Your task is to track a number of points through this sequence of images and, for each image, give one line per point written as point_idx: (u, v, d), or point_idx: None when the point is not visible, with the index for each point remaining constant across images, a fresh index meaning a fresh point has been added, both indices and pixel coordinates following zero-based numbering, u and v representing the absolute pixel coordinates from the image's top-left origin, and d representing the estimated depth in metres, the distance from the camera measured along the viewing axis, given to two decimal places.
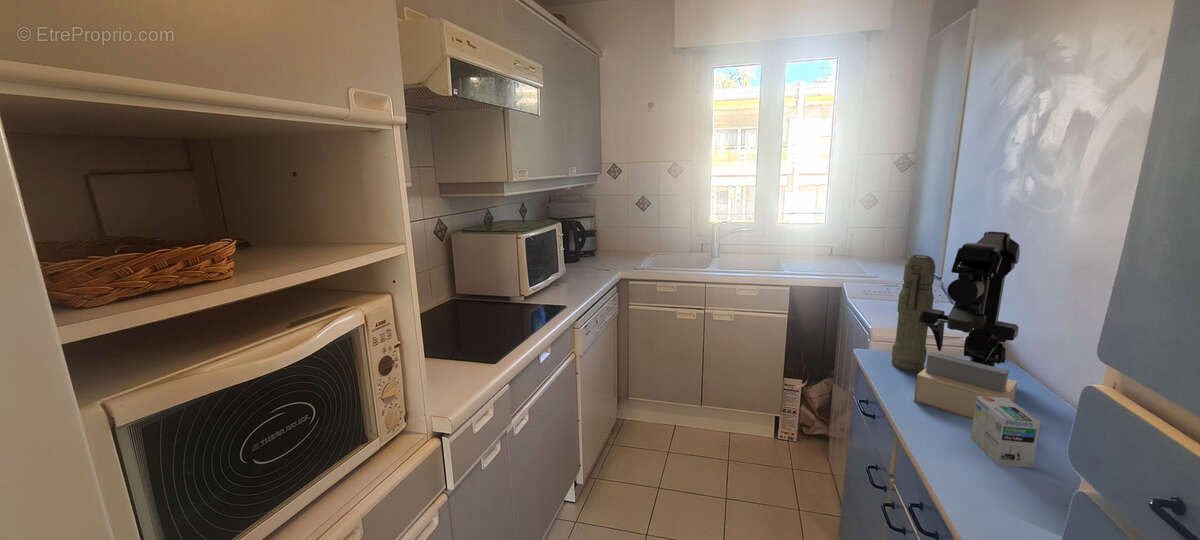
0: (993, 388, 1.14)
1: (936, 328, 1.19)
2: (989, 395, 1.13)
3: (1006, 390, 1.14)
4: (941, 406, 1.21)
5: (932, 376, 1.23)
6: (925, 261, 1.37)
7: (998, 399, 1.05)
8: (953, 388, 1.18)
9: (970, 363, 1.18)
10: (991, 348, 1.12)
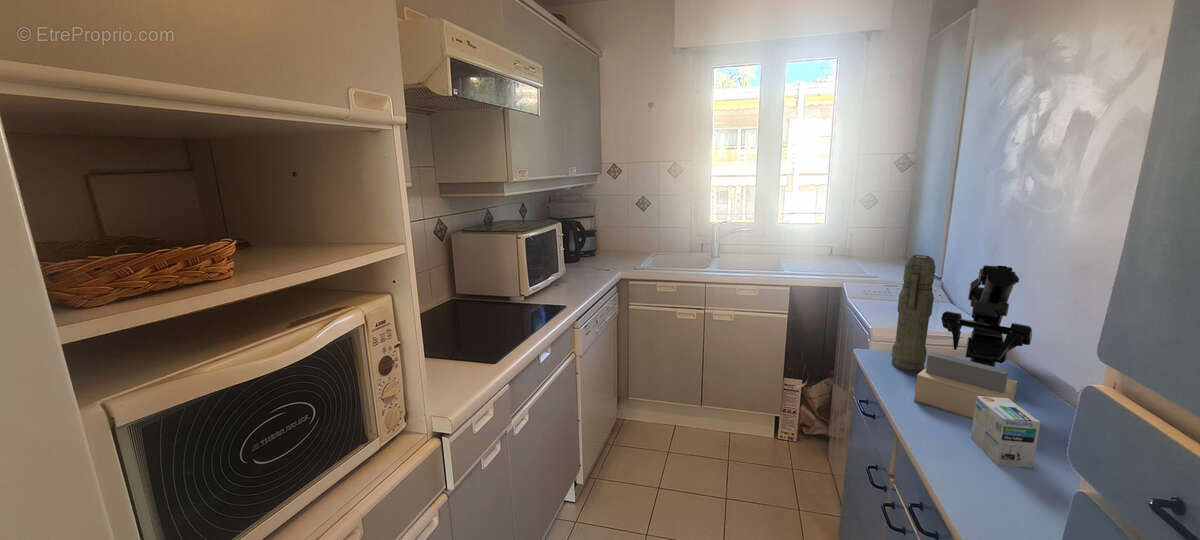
0: (993, 388, 1.14)
1: (957, 324, 1.28)
2: (989, 395, 1.13)
3: (1006, 390, 1.14)
4: (941, 406, 1.21)
5: (932, 376, 1.23)
6: (925, 261, 1.37)
7: (998, 399, 1.05)
8: (953, 388, 1.18)
9: (970, 363, 1.18)
10: (1007, 344, 1.20)
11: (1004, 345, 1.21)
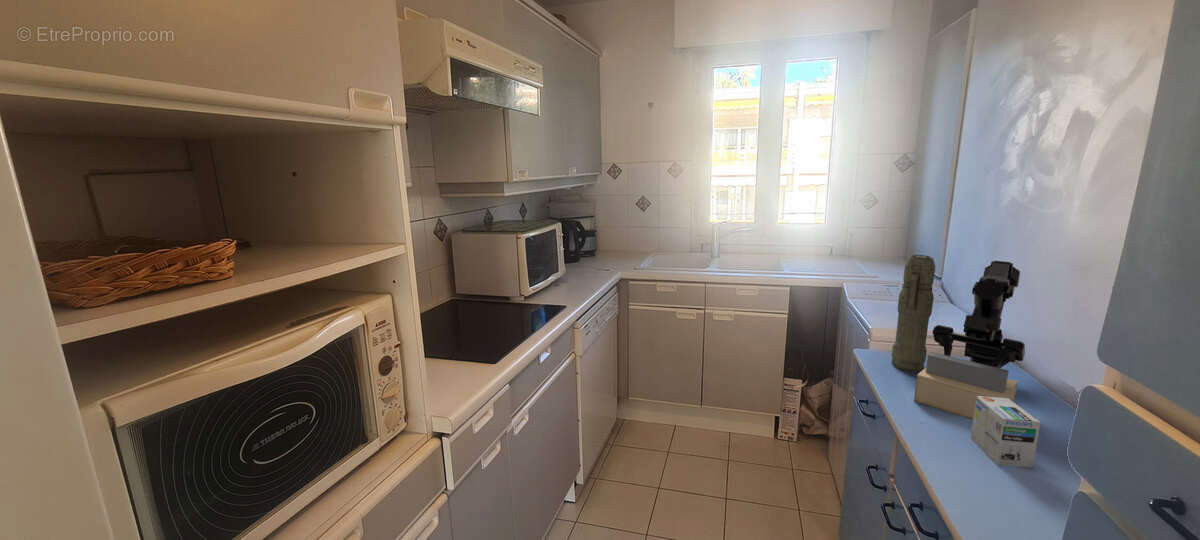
0: (993, 388, 1.14)
1: (948, 338, 1.25)
2: (989, 395, 1.13)
3: (1006, 390, 1.14)
4: (941, 406, 1.21)
5: (932, 376, 1.23)
6: (925, 261, 1.37)
7: (998, 399, 1.05)
8: (953, 388, 1.18)
9: (970, 363, 1.18)
10: (999, 360, 1.17)
11: (996, 361, 1.17)
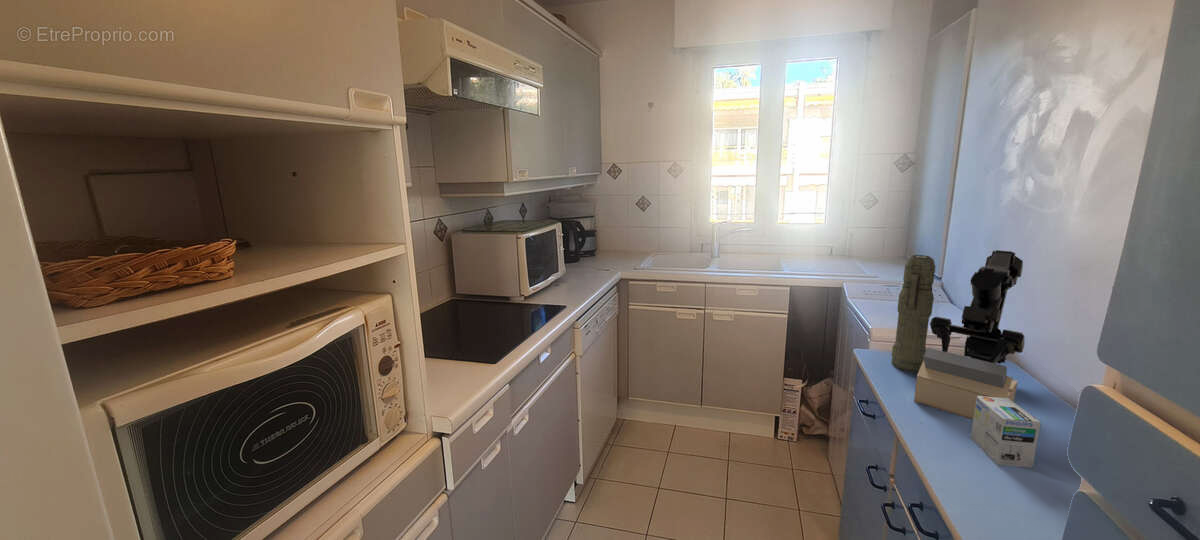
0: (993, 384, 1.13)
1: (946, 330, 1.22)
2: (989, 395, 1.13)
3: (1007, 380, 1.13)
4: (941, 406, 1.21)
5: (932, 374, 1.22)
6: (925, 261, 1.37)
7: (998, 399, 1.05)
8: (953, 388, 1.18)
9: (966, 362, 1.15)
10: (998, 352, 1.14)
11: (995, 353, 1.14)
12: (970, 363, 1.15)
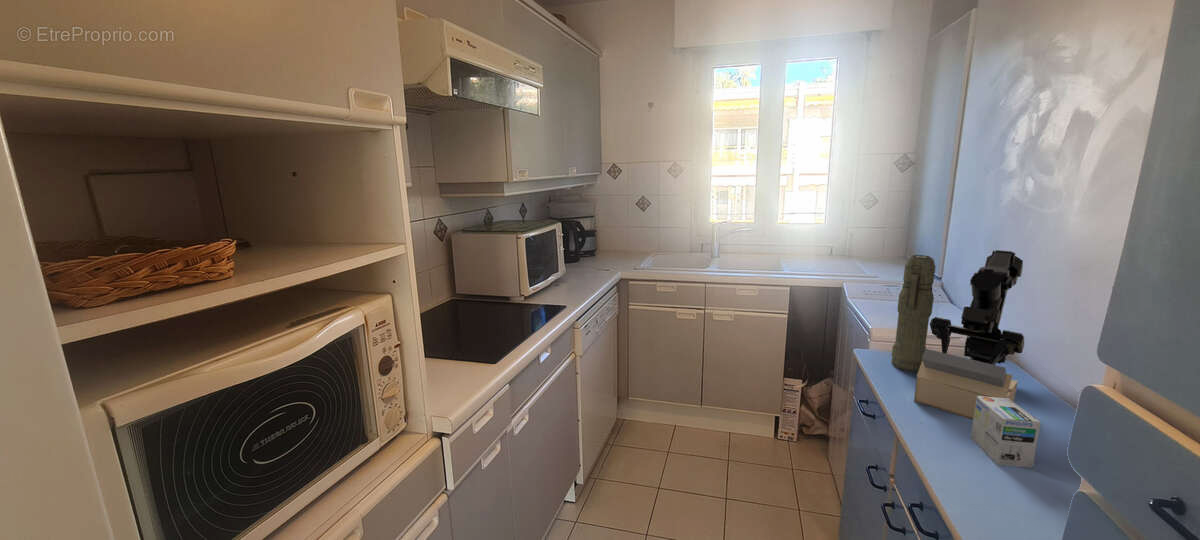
0: (992, 383, 1.13)
1: (946, 330, 1.22)
2: (989, 396, 1.13)
3: (1007, 378, 1.12)
4: (941, 406, 1.21)
5: (931, 374, 1.22)
6: (925, 261, 1.37)
7: (998, 399, 1.05)
8: (953, 388, 1.18)
9: (965, 364, 1.15)
10: (998, 353, 1.14)
11: (995, 353, 1.14)
12: (968, 365, 1.14)
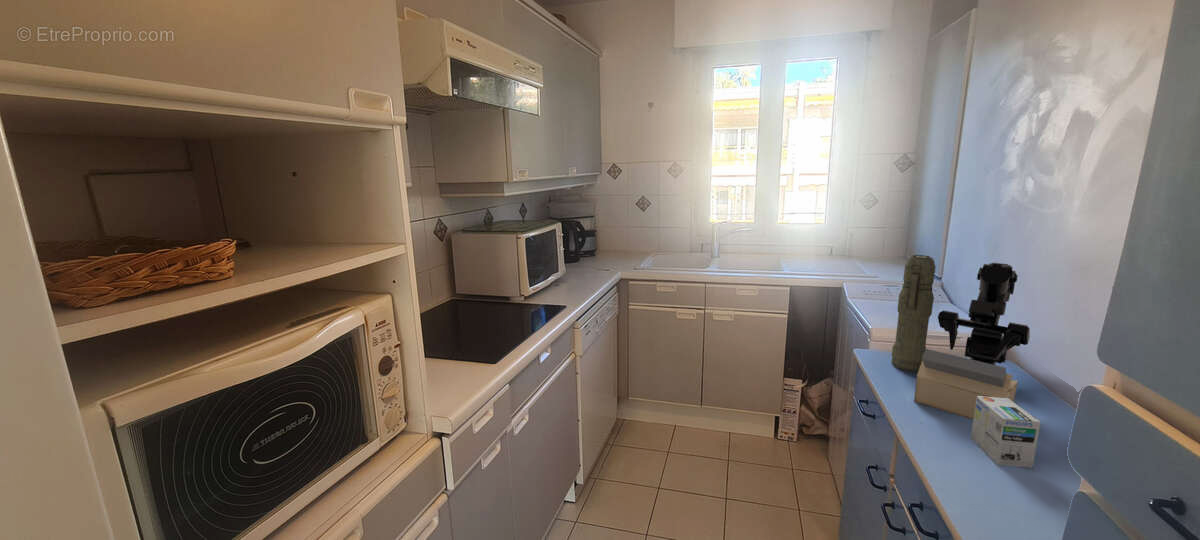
0: (992, 383, 1.13)
1: (953, 323, 1.26)
2: (989, 396, 1.13)
3: (1007, 378, 1.12)
4: (941, 406, 1.21)
5: (931, 374, 1.22)
6: (925, 261, 1.37)
7: (998, 399, 1.05)
8: (953, 388, 1.18)
9: (965, 364, 1.15)
10: (1004, 344, 1.18)
11: (1001, 345, 1.18)
12: (968, 365, 1.14)
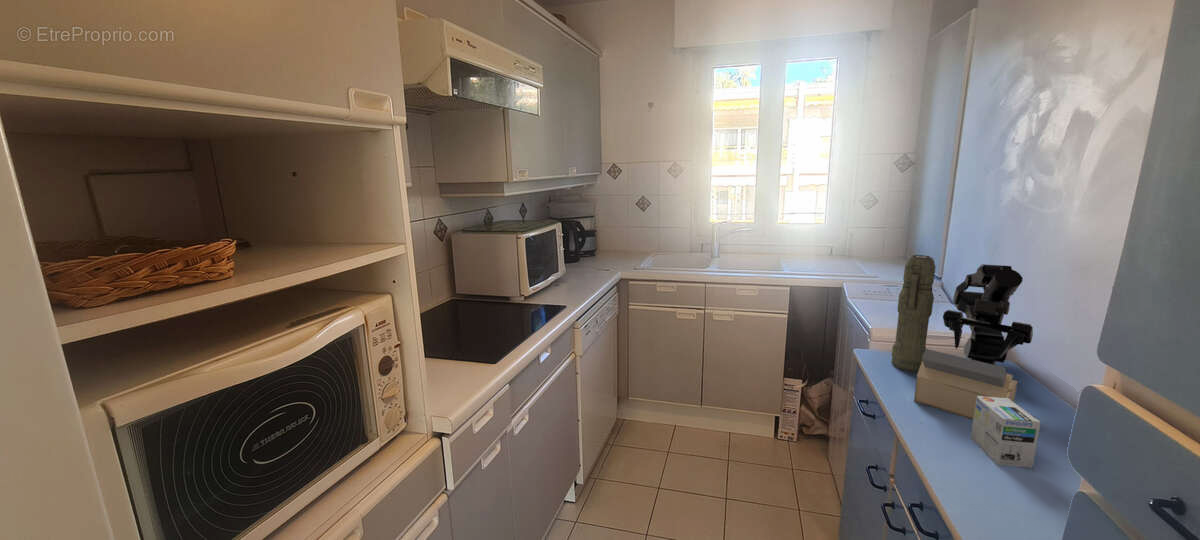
0: (992, 383, 1.13)
1: (958, 322, 1.30)
2: (989, 396, 1.13)
3: (1007, 378, 1.12)
4: (941, 406, 1.21)
5: (931, 374, 1.22)
6: (925, 261, 1.37)
7: (998, 399, 1.05)
8: (953, 388, 1.18)
9: (965, 364, 1.15)
10: (1008, 343, 1.21)
11: (1005, 343, 1.22)
12: (968, 365, 1.14)
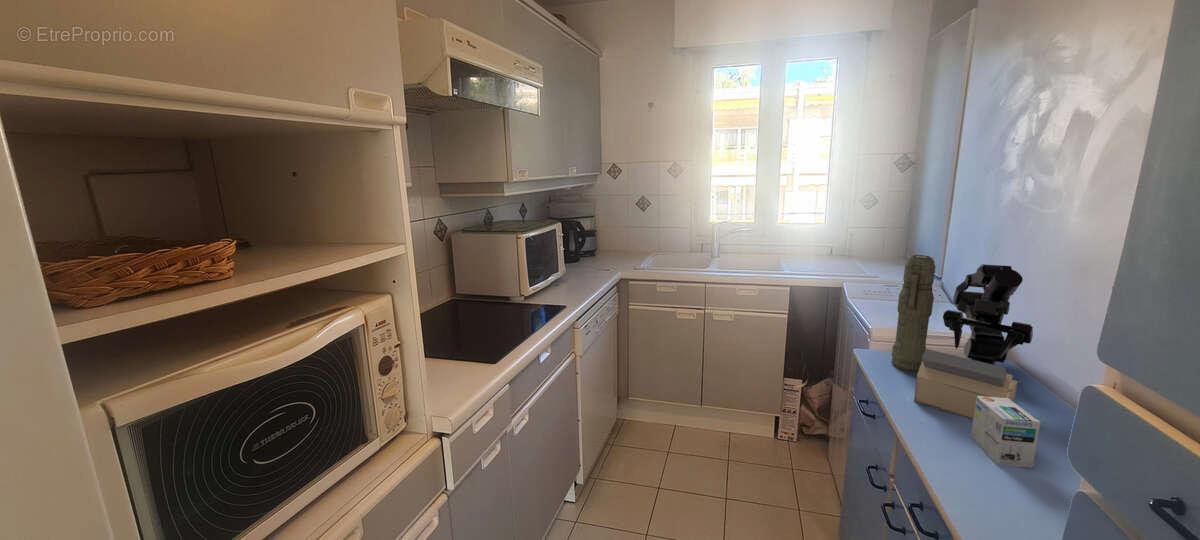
0: (992, 383, 1.13)
1: (958, 322, 1.30)
2: (989, 396, 1.13)
3: (1007, 378, 1.12)
4: (941, 406, 1.21)
5: (931, 374, 1.22)
6: (925, 261, 1.37)
7: (998, 399, 1.05)
8: (953, 388, 1.18)
9: (965, 364, 1.15)
10: (1008, 343, 1.21)
11: (1005, 343, 1.22)
12: (968, 365, 1.14)
